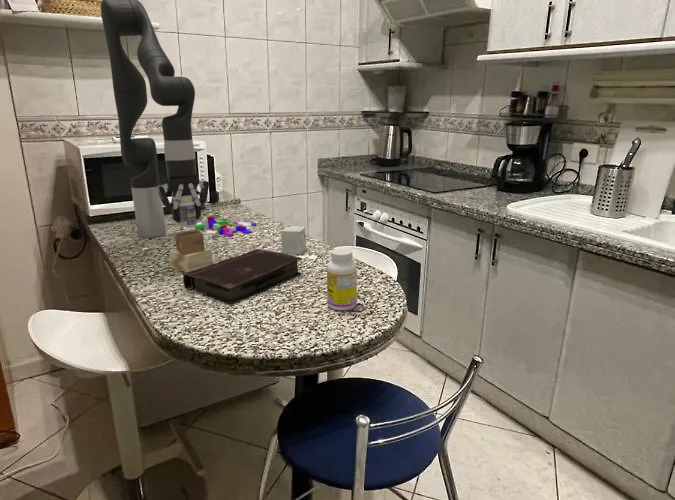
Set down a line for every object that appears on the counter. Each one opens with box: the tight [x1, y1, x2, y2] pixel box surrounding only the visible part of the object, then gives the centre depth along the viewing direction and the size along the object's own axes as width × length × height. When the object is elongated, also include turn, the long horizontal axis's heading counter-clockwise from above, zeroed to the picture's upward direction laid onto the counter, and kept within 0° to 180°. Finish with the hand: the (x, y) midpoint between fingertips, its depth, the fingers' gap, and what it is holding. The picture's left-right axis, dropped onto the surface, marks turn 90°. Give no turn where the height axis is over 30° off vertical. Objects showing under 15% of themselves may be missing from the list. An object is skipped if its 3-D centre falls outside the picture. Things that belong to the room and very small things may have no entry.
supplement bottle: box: [326, 247, 358, 312], centre depth 101 cm, size 7×7×13 cm
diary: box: [182, 248, 304, 305], centre depth 117 cm, size 19×25×5 cm
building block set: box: [194, 215, 257, 238], centre depth 169 cm, size 25×20×4 cm
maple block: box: [169, 246, 214, 273], centre depth 128 cm, size 8×8×5 cm
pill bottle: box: [178, 195, 198, 228], centre depth 124 cm, size 5×5×8 cm
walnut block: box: [174, 228, 205, 255], centre depth 127 cm, size 6×6×5 cm
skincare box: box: [280, 225, 307, 255], centre depth 140 cm, size 6×6×7 cm
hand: (187, 220), depth 125 cm, fingers closed on pill bottle, 4 cm apart
